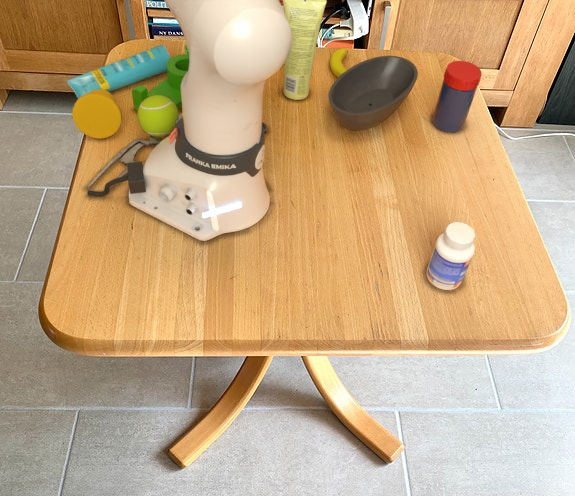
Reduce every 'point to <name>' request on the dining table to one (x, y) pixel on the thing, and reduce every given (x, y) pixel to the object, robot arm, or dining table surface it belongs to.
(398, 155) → the dining table surface
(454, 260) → the pill bottle
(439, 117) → the jar
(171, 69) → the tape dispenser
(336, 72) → the fruit
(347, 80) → the bowl
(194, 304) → the dining table surface
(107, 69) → the tube
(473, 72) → the lid
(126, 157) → the nutcracker
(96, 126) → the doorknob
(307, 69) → the tube
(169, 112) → the tennis ball
